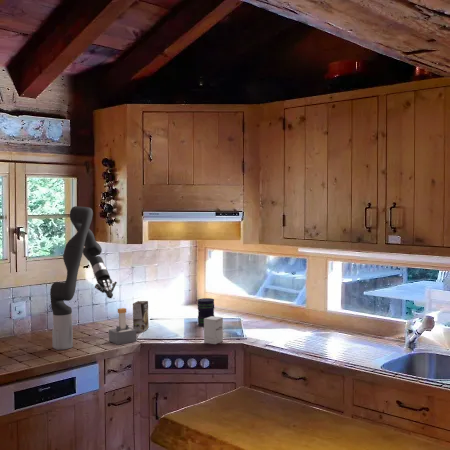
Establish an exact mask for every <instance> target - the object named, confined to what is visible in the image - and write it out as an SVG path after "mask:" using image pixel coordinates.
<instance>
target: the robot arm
mask: <svg viewBox="0 0 450 450" xmlns="http://www.w3.org/2000/svg"><path fill="white" fill-rule="evenodd" d="M93 216H94V212H93V209H92V208H91V207H87V206H79V205H77V206H72V207H71V209H70V211H69V220H70V222H71V223H72V225H73V227H74V228H75V230H76V231H77V232H76V233H75V234H74V235H73V236H72V237H71V238H70V239H69V240H68V241H67V243H65V248H64V251H63V254H62V255H63V256H62V259H63V262H64V266H65V269H66V278H65V281H56V282H53V283H52V284H51V286H50V290H49V294H50V308H51V310H52V325H53V327H52V329H51V335H52V341H51V342H52V348H53V349H54V350H56V351H58V350H68V349H71V348H73V346H74V340H73V338H74V337H73V309H72V307H71V306H69V305H68V304H66V303H65V302H69V301H71V300H72V299H73V298H74V296H75V293H76V287H77V280H78V273H79V269H80V265H81V261H82V258H83V256H84V257H85V259H86V260H87V261H88V263H89V264H90V266H91V269H92V271H93V272H92V273H93V275H94V278H95V280H96V283H95V285H94V288H95V289H96V290H97V291H99V292H100V293H102V294H103V293H105V294H106V297H107V298H108V299H112V298H113V296H114V295H113V294H114V293H113V292H114V289H115V287H116V285H117V281H113V279H112V278H111V276H110V273H109V271H108V268H107V267H106V265H105V263H104V260H103V258H102V256H99V255H101V254H102V252H103V250H102V247H101V245H100V244H99V242H97V241H96V238H95V235H94V233H93V231H92V230H91V229H90V226H91V223H92V221H93ZM111 286H112V287H111Z"/></svg>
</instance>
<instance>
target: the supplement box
mask: <svg viewBox="0 0 450 450" xmlns="http://www.w3.org/2000/svg"><path fill="white" fill-rule="evenodd" d="M223 324H224V323H223V317H222V316H215V315H214V316H211V317H208V318H205V319H204V327H203V343H205V344H211V345H217V344H219V343H222V342H223V341H224V326H223Z"/></svg>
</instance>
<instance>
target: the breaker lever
mask: <svg viewBox="0 0 450 450" xmlns="http://www.w3.org/2000/svg"><path fill="white" fill-rule="evenodd" d="M117 313H118V326H120V330H121V329H126V325H127V322H126V320H127V319H126V318H127V317H126V314H127V308H125V307H120V308H117Z"/></svg>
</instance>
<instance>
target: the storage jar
mask: <svg viewBox="0 0 450 450" xmlns="http://www.w3.org/2000/svg"><path fill="white" fill-rule="evenodd" d="M197 310H198V311H197V312H198V315H197V321H198V322H197V323H198V324H197V326H198V327H203V328H204V319H205V318H208V317H211V316H214V317H215V299H214V298H209V297H208V298H207V297H204V298H198V299H197Z"/></svg>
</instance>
